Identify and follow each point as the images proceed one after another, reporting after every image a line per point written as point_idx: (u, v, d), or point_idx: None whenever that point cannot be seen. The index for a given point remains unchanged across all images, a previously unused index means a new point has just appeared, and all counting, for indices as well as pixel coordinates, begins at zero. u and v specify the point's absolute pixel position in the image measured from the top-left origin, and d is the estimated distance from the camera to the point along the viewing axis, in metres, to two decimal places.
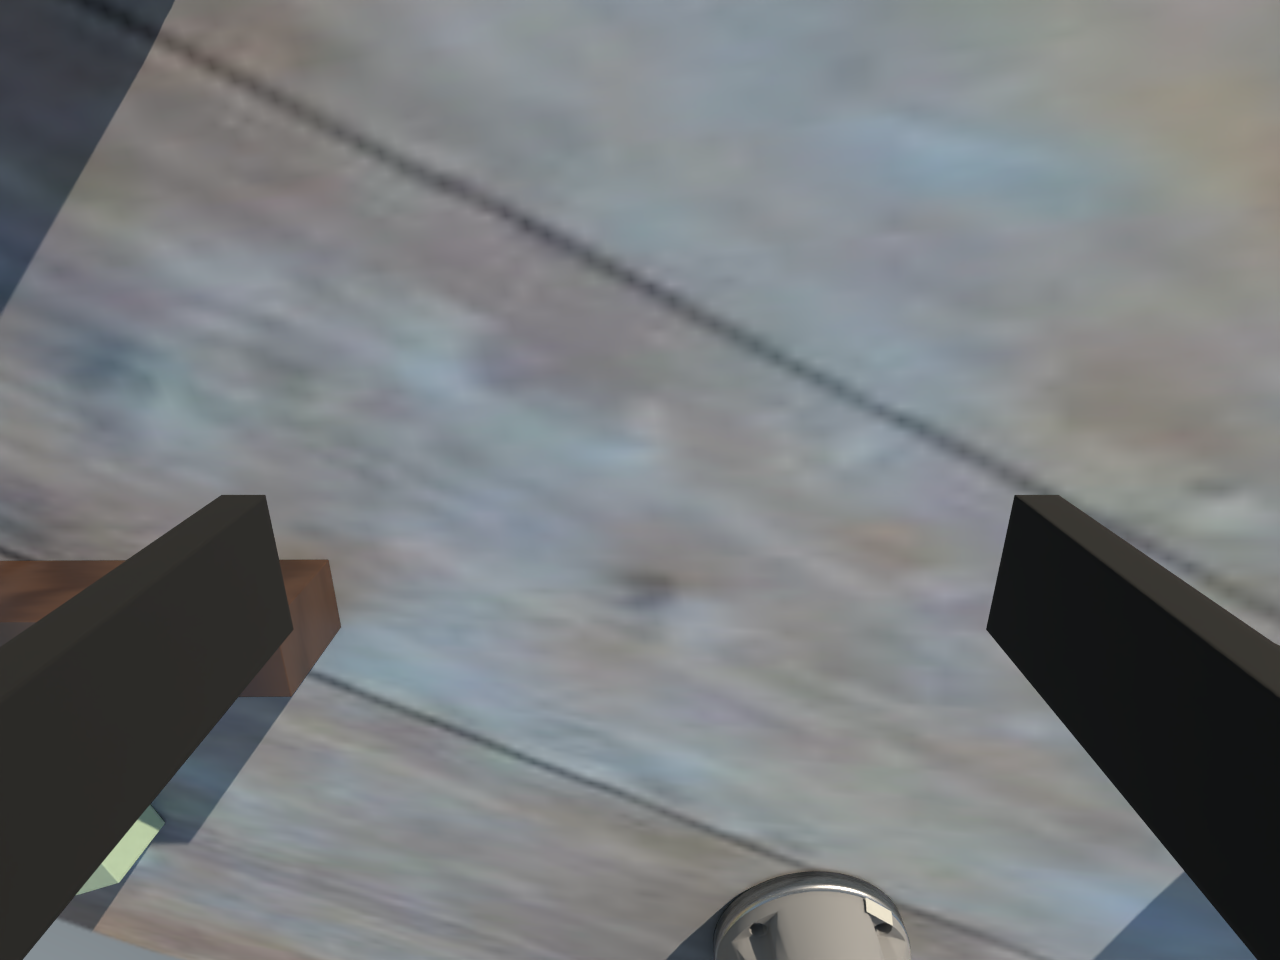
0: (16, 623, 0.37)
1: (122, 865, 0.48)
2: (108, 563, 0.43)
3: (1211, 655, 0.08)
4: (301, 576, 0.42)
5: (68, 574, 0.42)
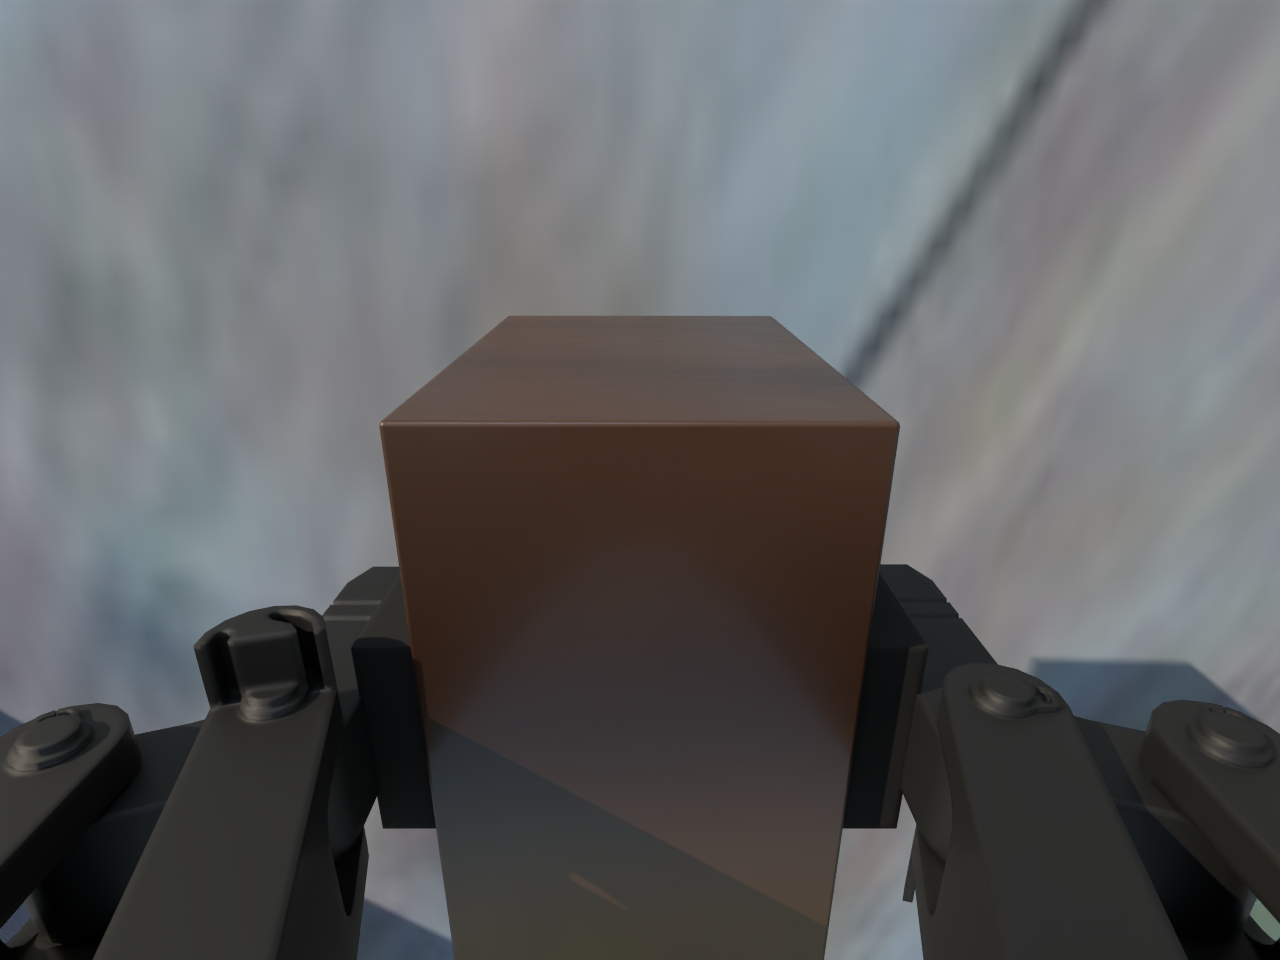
0: None
1: None
2: None
3: None
4: None
5: None
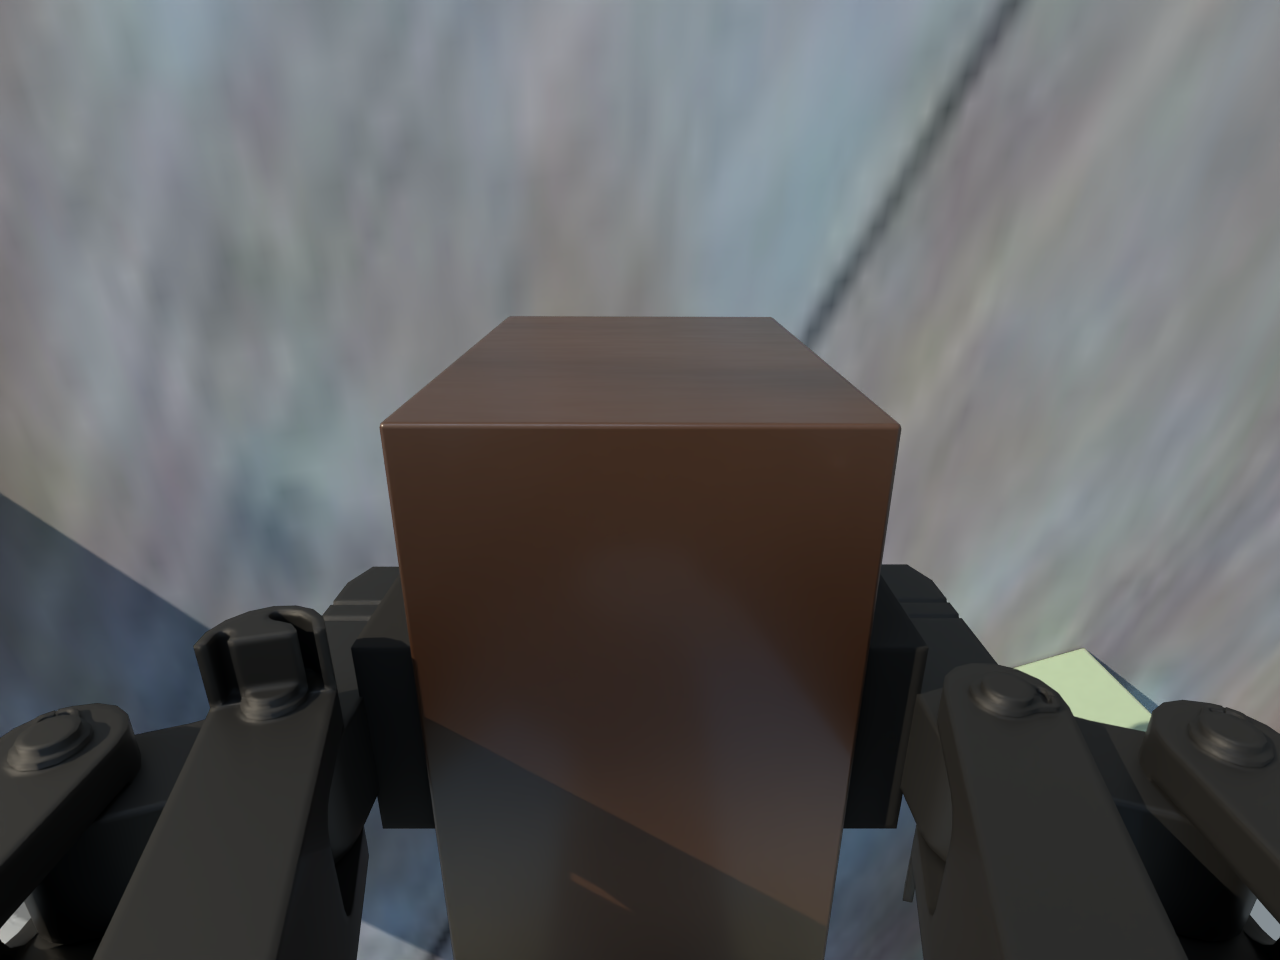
0: None
1: (1131, 714, 0.27)
2: None
3: None
4: None
5: None
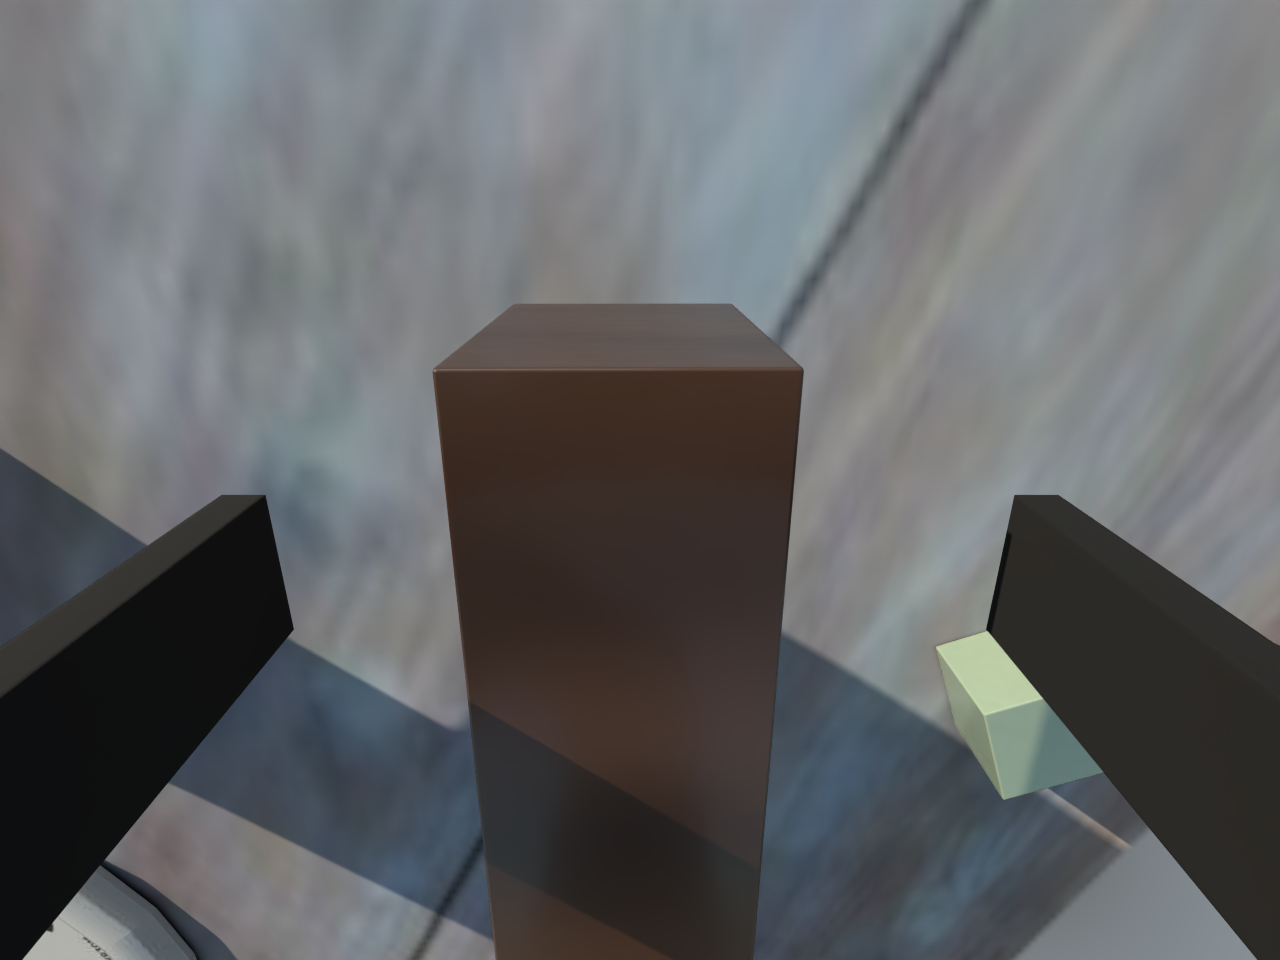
0: None
1: None
2: None
3: (1211, 655, 0.08)
4: None
5: None
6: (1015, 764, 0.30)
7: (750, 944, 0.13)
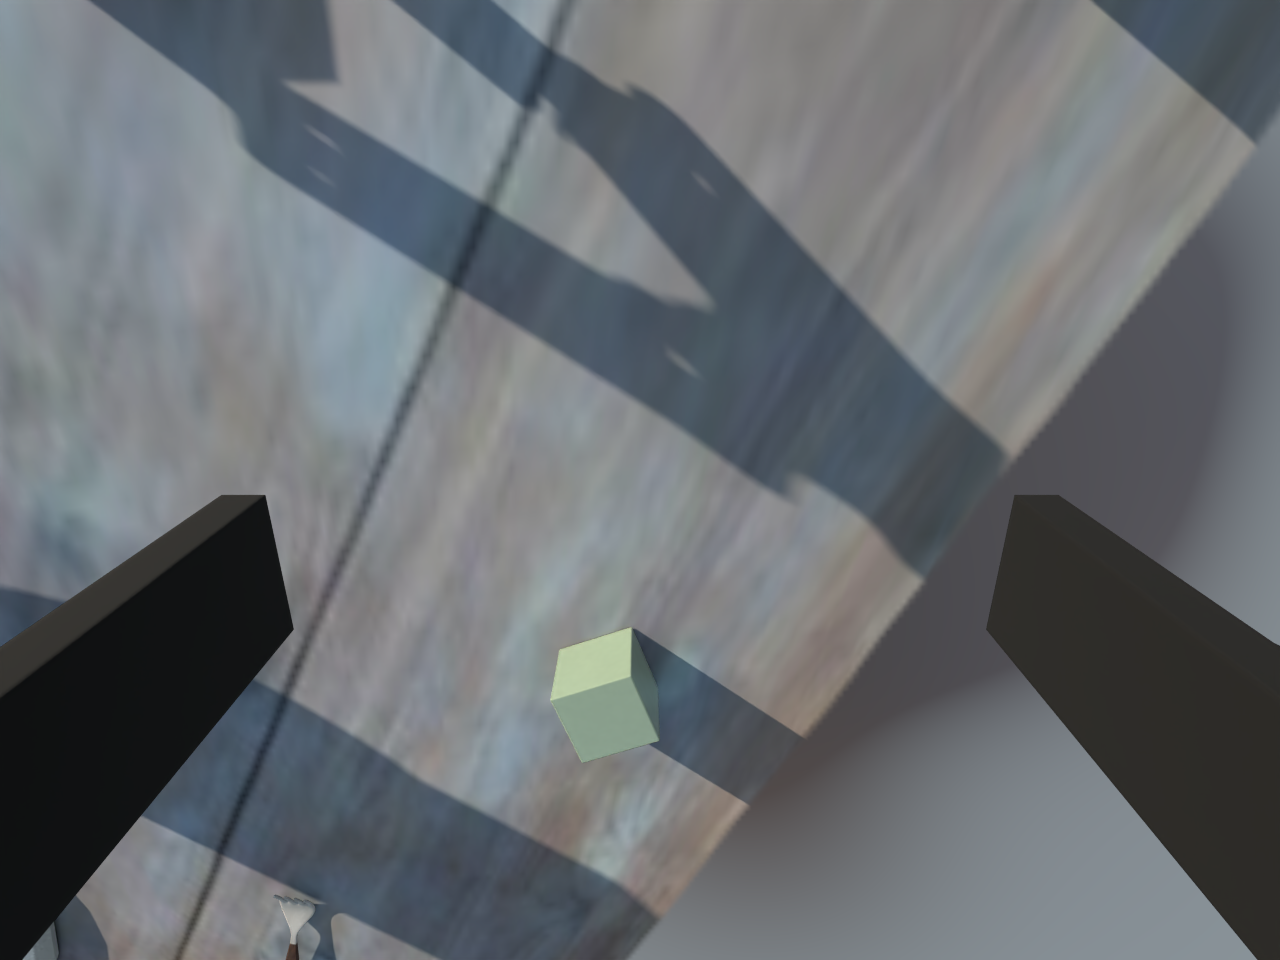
0: None
1: (620, 669, 0.40)
2: None
3: (1211, 655, 0.08)
4: None
5: None
6: (582, 736, 0.41)
7: None
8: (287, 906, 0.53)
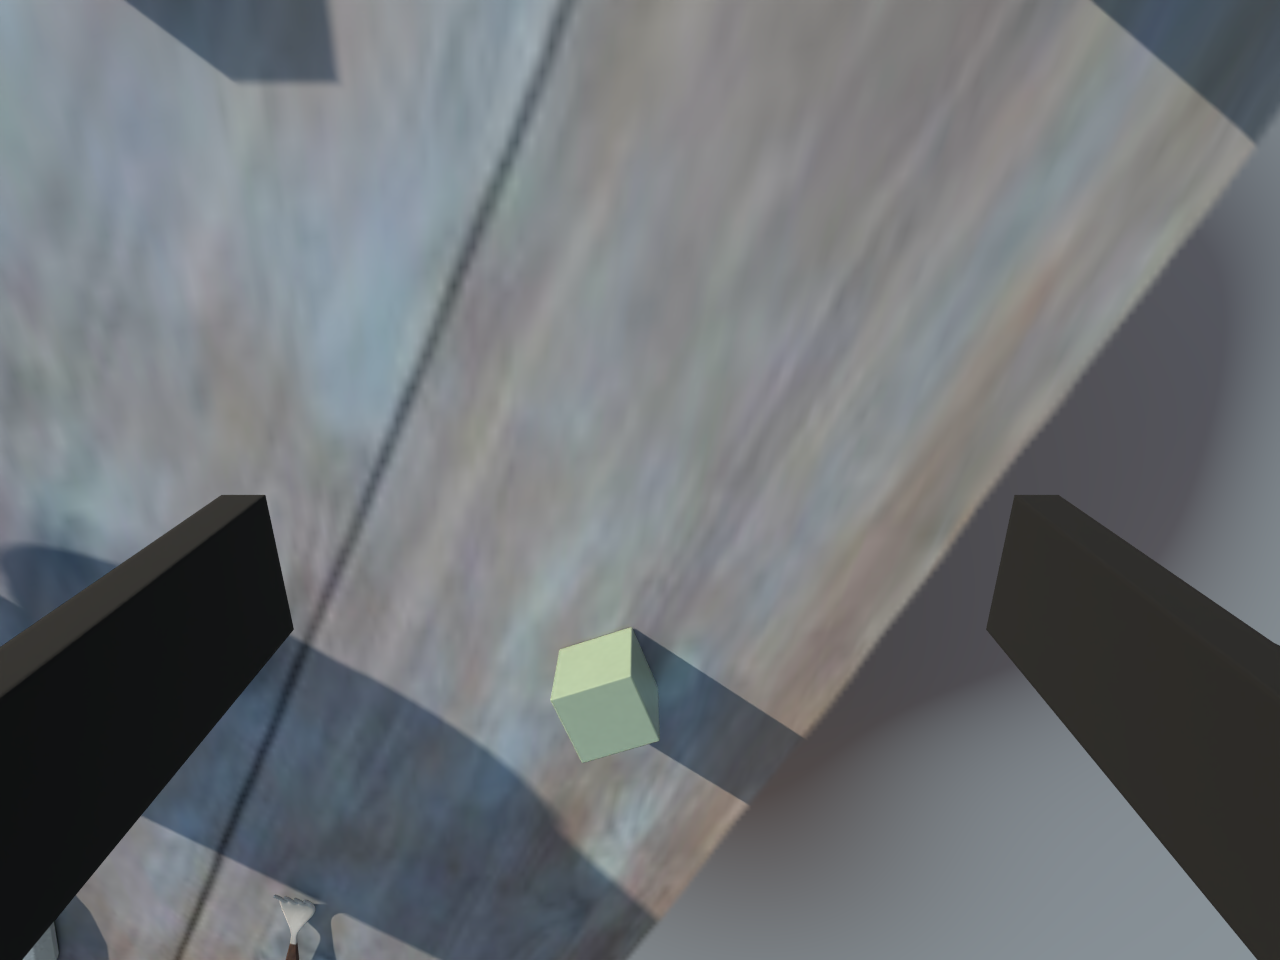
0: None
1: (620, 669, 0.40)
2: None
3: (1211, 655, 0.08)
4: None
5: None
6: (582, 736, 0.41)
7: None
8: (287, 906, 0.53)
